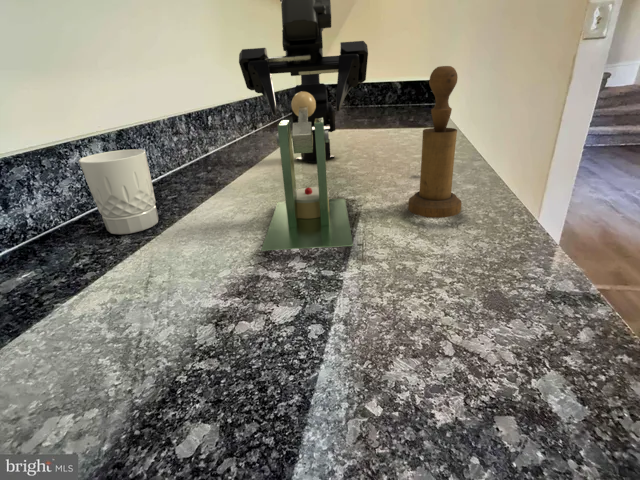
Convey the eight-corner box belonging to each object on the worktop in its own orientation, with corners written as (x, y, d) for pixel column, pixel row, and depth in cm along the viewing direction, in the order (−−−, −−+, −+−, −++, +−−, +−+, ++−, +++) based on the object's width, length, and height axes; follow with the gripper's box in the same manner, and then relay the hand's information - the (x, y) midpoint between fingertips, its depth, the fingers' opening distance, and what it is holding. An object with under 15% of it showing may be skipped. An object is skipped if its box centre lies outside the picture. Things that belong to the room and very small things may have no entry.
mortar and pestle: (462, 210, 49) (478, 63, 42) (457, 228, 44) (474, 64, 37) (413, 206, 52) (419, 67, 44) (402, 222, 47) (407, 68, 39)
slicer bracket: (278, 209, 54) (267, 116, 49) (345, 205, 54) (342, 111, 48) (262, 260, 40) (244, 135, 34) (353, 255, 40) (350, 128, 34)
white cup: (174, 217, 54) (157, 149, 50) (134, 239, 47) (111, 162, 43) (133, 214, 57) (114, 149, 52) (89, 234, 50) (63, 161, 46)
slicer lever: (293, 111, 50) (290, 88, 48) (316, 109, 50) (314, 86, 47) (290, 157, 42) (286, 132, 40) (317, 155, 42) (315, 130, 40)
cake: (291, 206, 52) (289, 183, 50) (329, 204, 52) (328, 180, 50) (288, 220, 47) (285, 195, 45) (330, 218, 47) (329, 192, 45)
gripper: (230, -16, 50) (224, 71, 45) (366, -26, 50) (376, 61, 44) (249, 51, 61) (246, 129, 55) (361, 43, 60) (369, 121, 55)
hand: (305, 111), depth 52 cm, fingers open, 9 cm apart
